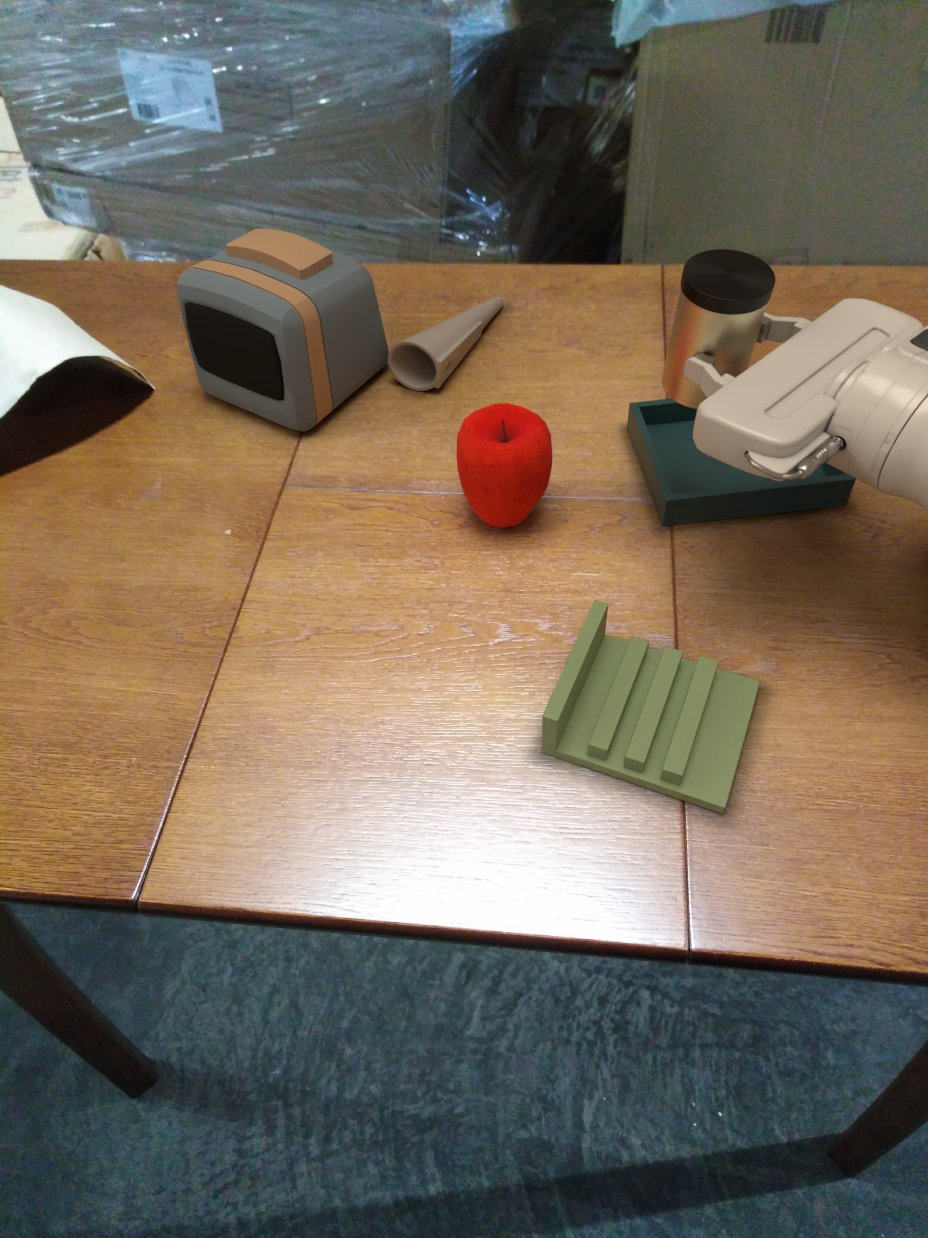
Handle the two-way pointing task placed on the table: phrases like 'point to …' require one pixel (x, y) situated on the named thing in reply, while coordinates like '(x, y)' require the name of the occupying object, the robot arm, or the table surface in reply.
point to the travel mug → (716, 317)
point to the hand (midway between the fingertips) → (720, 341)
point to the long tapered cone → (439, 347)
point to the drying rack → (649, 715)
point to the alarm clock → (282, 326)
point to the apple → (504, 462)
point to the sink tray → (715, 473)
